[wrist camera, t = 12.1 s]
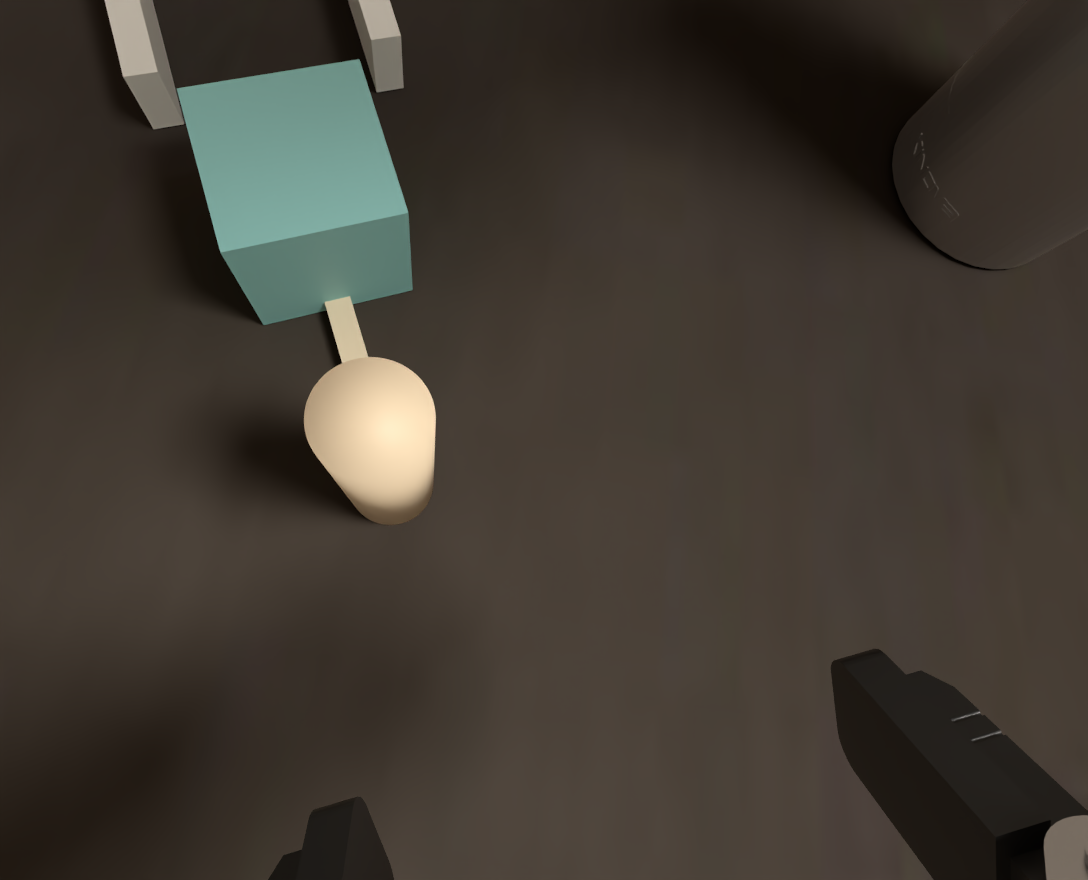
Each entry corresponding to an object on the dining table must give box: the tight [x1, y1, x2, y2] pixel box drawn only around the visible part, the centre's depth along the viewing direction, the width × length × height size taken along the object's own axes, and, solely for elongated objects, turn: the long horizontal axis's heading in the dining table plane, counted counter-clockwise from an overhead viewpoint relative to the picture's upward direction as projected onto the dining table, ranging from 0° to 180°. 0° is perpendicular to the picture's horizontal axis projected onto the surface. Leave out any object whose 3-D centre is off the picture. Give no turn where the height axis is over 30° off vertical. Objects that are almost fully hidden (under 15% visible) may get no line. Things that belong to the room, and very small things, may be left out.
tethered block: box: [177, 59, 436, 525], centre depth 23 cm, size 6×15×10 cm, turn 19°
